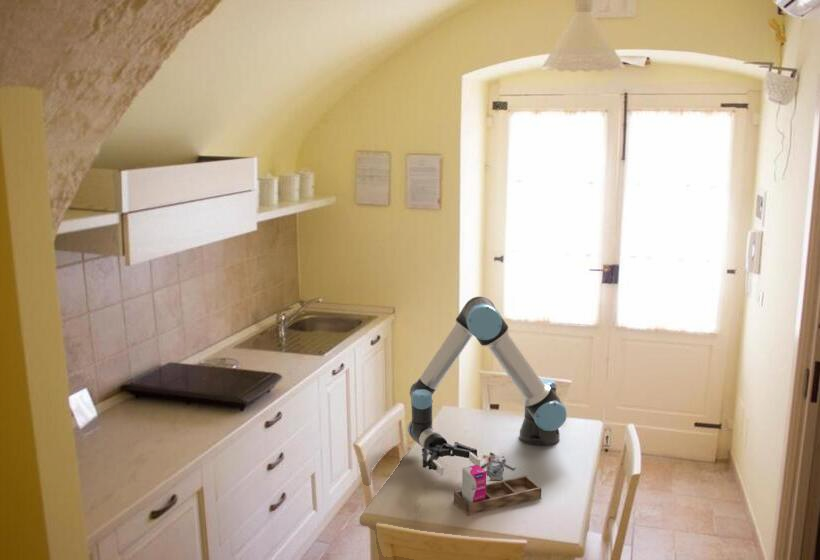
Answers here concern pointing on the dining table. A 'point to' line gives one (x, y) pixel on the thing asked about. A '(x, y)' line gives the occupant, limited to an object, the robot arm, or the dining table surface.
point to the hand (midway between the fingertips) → (461, 467)
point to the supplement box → (473, 484)
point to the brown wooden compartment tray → (501, 495)
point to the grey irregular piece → (495, 469)
